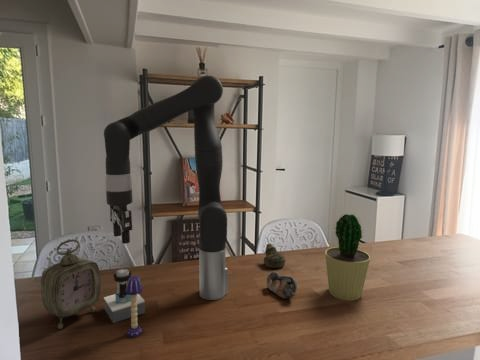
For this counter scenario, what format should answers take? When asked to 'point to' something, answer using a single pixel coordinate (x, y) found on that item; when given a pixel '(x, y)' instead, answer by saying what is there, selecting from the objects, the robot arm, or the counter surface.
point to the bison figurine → (281, 285)
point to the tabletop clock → (70, 285)
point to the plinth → (122, 308)
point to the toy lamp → (134, 305)
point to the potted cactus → (347, 261)
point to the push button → (122, 285)
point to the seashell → (273, 257)
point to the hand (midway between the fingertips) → (121, 239)
